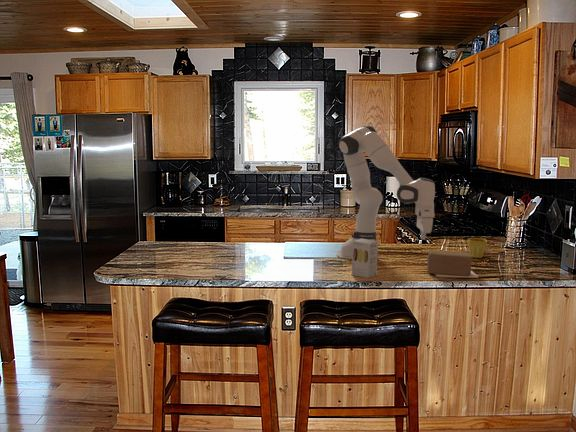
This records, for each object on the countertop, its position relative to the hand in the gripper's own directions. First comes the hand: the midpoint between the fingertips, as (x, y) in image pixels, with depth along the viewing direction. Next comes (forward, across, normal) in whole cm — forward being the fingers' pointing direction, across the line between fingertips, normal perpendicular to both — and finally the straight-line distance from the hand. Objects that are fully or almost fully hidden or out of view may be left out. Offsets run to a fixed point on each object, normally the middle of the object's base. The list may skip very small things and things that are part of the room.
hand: (423, 239), depth 281 cm
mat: (+17, 0, +16) cm, 23 cm away
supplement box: (+17, +9, -29) cm, 35 cm away
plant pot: (+17, -42, +38) cm, 59 cm away
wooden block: (+11, +1, +3) cm, 11 cm away
